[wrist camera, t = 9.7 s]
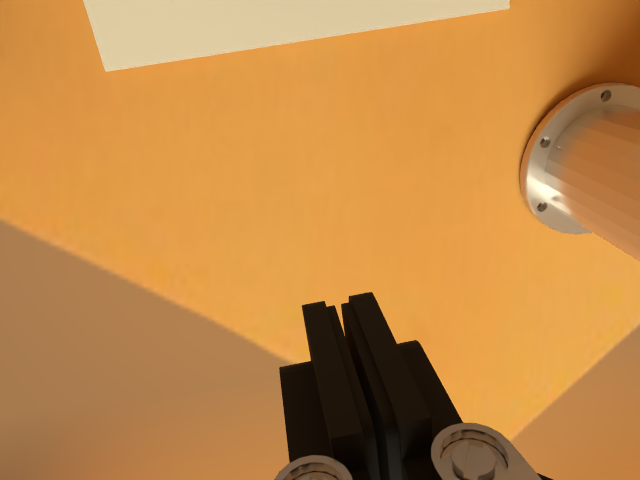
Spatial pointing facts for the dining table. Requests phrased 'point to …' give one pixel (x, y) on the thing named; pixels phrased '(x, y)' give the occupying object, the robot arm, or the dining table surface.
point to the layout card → (247, 24)
